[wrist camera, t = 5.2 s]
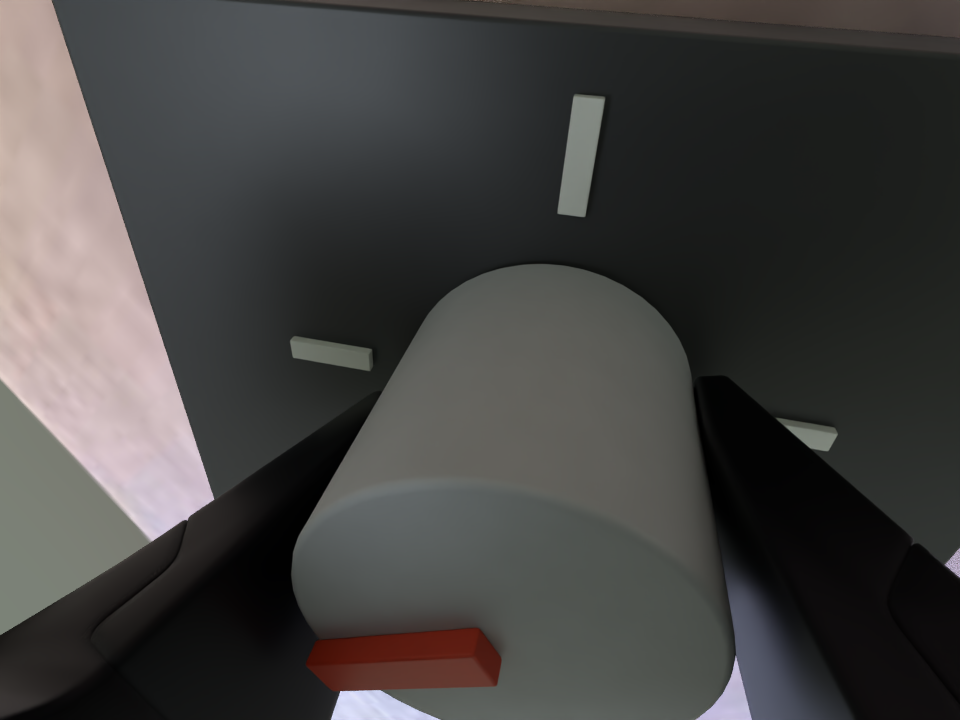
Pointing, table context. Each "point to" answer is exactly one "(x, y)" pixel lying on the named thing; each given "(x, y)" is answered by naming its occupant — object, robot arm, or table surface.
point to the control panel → (540, 206)
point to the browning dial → (525, 517)
